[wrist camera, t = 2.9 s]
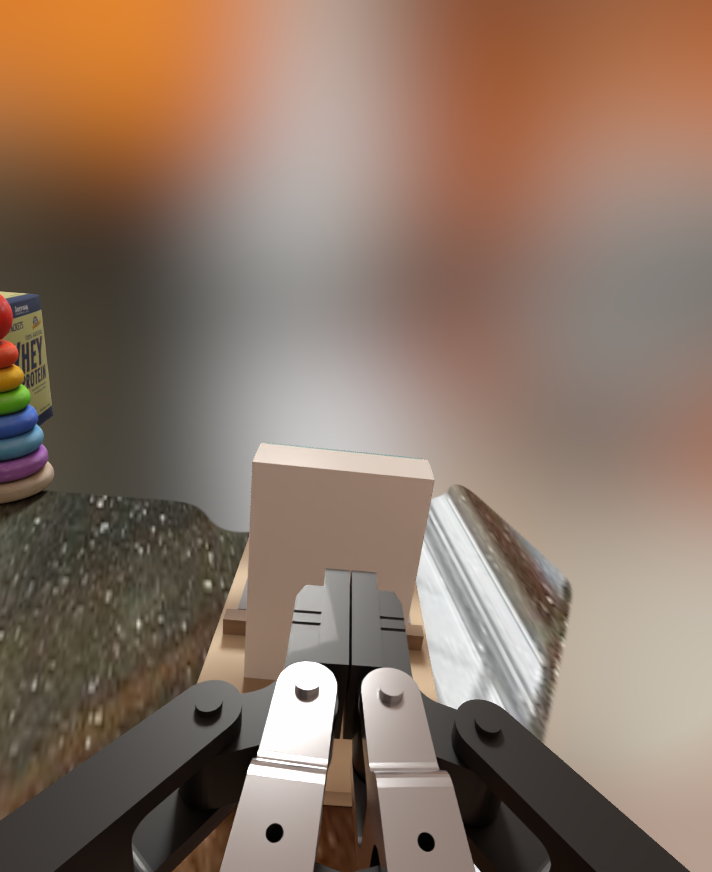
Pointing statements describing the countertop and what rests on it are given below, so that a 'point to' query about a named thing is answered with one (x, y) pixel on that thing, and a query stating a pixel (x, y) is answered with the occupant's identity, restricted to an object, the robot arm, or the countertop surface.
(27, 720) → the countertop surface
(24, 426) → the stacking toy
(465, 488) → the countertop surface
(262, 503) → the tile
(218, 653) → the board
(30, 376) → the protein box
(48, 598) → the countertop surface
